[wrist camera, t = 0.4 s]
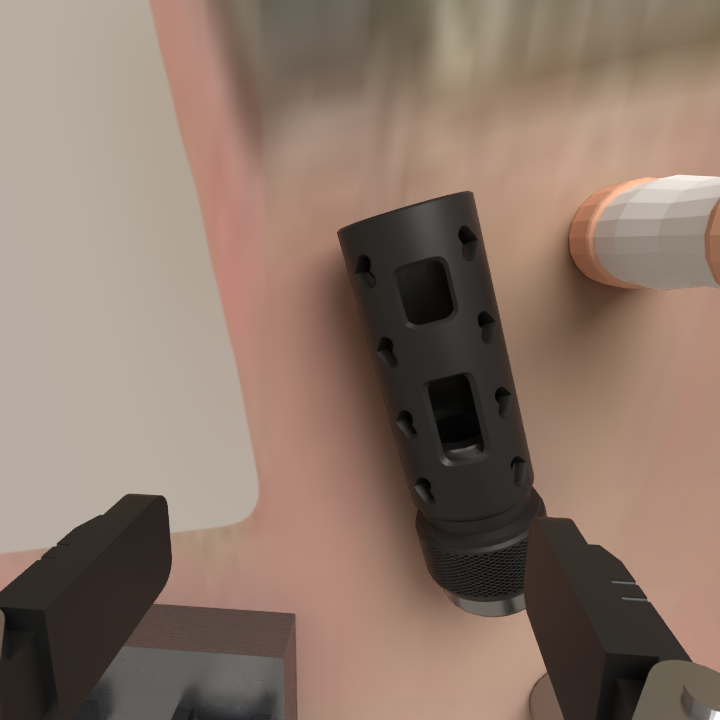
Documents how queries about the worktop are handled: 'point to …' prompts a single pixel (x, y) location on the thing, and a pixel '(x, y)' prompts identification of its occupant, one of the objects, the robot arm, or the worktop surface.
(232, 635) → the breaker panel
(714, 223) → the pepper shaker
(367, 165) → the worktop surface
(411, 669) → the worktop surface
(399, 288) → the muzzle brake
